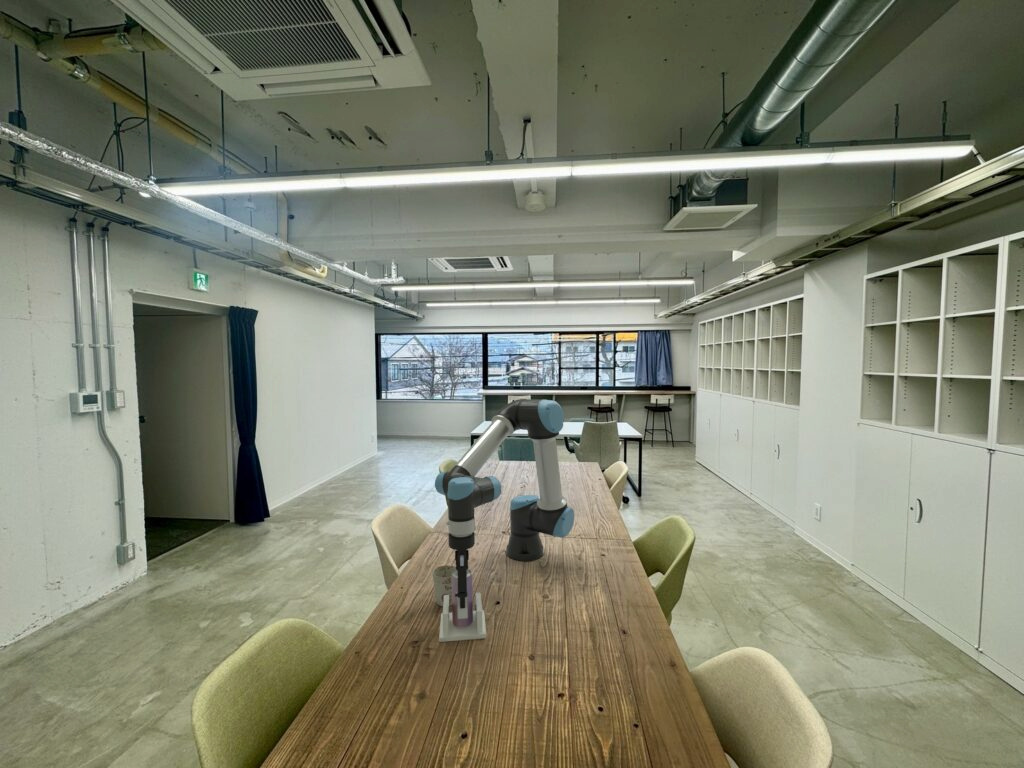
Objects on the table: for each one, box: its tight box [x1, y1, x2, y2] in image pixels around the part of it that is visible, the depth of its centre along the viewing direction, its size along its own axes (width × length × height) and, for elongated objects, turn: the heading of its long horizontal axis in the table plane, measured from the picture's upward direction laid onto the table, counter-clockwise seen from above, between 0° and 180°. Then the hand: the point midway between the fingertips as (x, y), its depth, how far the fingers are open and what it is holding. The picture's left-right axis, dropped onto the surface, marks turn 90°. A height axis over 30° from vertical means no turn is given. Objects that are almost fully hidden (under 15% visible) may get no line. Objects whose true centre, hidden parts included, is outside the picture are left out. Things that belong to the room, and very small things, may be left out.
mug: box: [432, 565, 456, 607], centre depth 139 cm, size 8×13×10 cm, turn 15°
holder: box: [438, 592, 487, 643], centre depth 123 cm, size 12×13×7 cm
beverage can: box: [451, 568, 474, 628], centre depth 123 cm, size 6×6×15 cm
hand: (462, 604), depth 123 cm, fingers open, 13 cm apart
